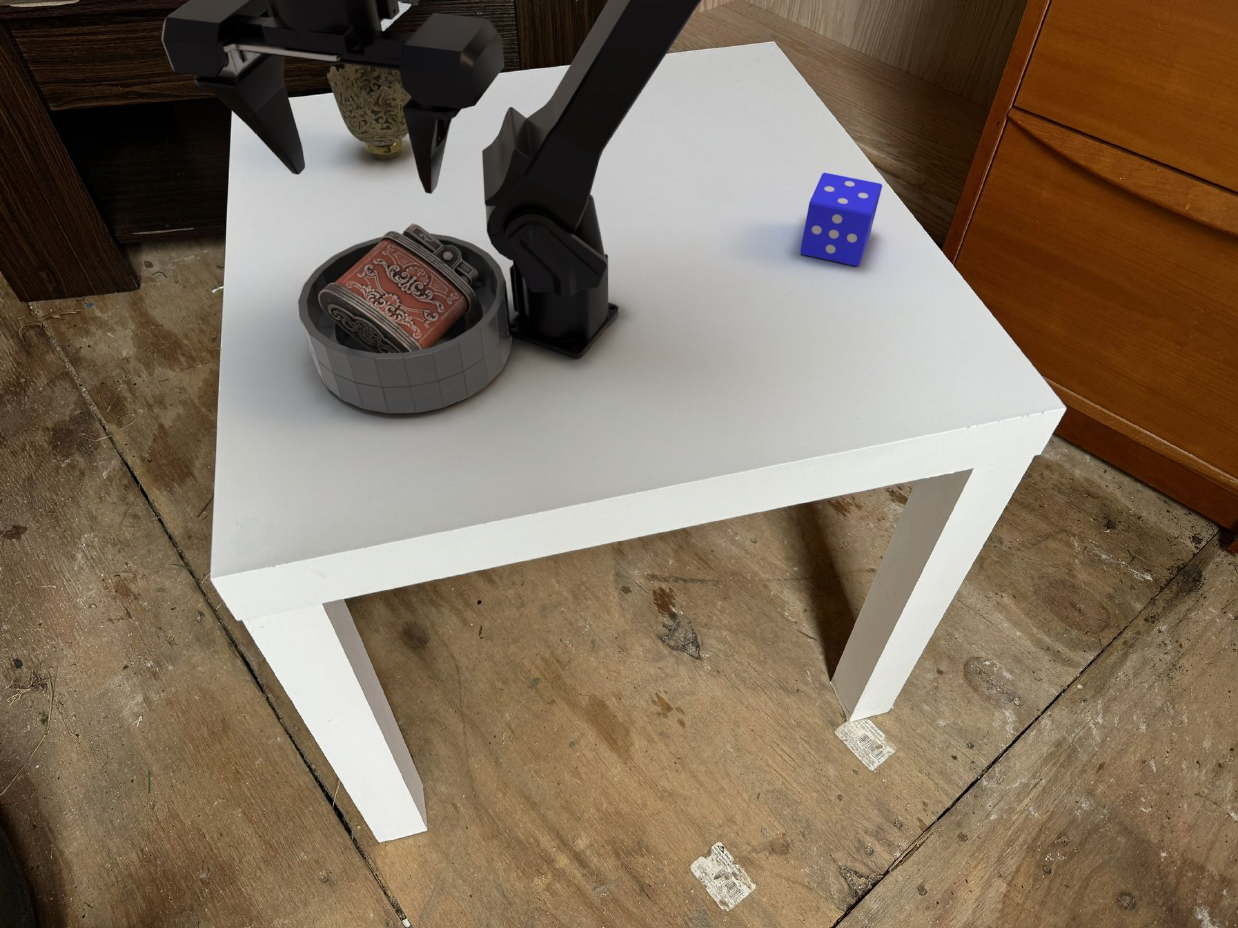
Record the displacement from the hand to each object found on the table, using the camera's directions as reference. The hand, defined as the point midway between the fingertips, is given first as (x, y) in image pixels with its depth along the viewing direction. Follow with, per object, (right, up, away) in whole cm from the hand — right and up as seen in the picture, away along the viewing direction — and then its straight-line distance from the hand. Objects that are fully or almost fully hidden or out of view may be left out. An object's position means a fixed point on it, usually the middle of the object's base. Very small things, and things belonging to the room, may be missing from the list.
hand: (364, 180), depth 57 cm
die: (+35, 0, +18) cm, 39 cm away
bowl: (+1, -10, +9) cm, 13 cm away
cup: (-6, +11, +28) cm, 31 cm away
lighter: (-1, -9, +3) cm, 10 cm away
